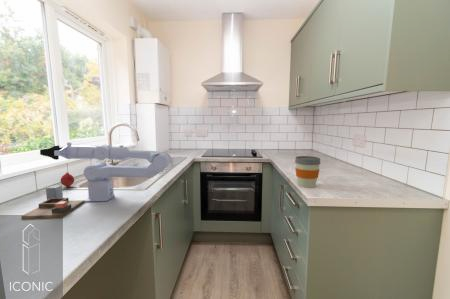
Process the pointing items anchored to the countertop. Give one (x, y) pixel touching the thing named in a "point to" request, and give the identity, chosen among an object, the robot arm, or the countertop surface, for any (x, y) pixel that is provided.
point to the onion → (67, 180)
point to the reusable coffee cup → (307, 171)
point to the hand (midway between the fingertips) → (47, 151)
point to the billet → (54, 191)
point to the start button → (61, 204)
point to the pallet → (52, 209)
